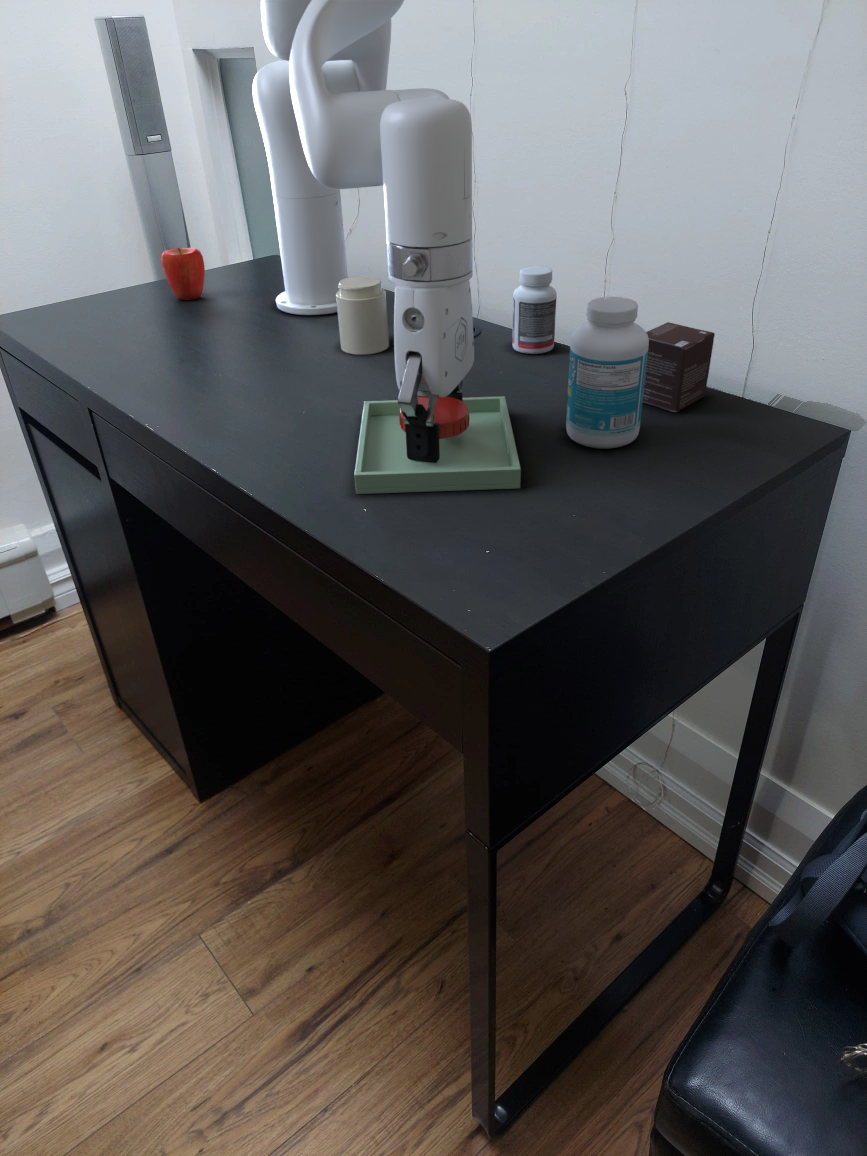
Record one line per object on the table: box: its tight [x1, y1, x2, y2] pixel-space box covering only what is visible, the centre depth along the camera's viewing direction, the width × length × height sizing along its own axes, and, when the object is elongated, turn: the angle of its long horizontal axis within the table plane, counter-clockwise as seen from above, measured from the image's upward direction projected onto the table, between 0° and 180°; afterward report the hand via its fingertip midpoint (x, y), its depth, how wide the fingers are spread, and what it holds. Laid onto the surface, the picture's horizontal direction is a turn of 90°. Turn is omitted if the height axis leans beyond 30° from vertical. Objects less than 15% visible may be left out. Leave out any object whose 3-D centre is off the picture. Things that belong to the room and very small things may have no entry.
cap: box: [399, 396, 469, 439], centre depth 83 cm, size 7×7×2 cm
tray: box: [353, 395, 522, 495], centre depth 84 cm, size 17×15×2 cm
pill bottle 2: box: [565, 296, 649, 450], centre depth 83 cm, size 8×7×14 cm
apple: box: [161, 247, 206, 301], centre depth 131 cm, size 6×6×8 cm
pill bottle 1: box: [511, 265, 558, 355], centre depth 106 cm, size 5×5×10 cm
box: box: [642, 321, 716, 413], centre depth 92 cm, size 6×6×7 cm
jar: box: [336, 275, 390, 356], centre depth 109 cm, size 6×6×8 cm
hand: (435, 442), depth 85 cm, fingers closed on cap, 6 cm apart
